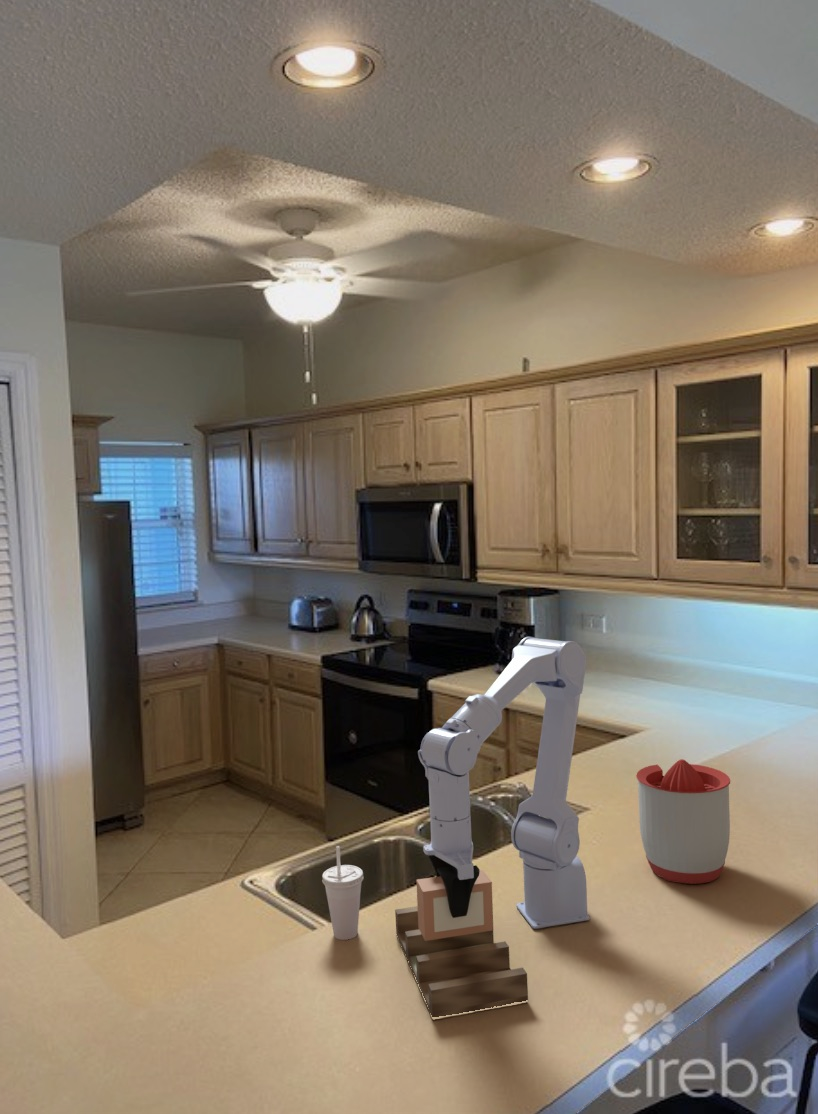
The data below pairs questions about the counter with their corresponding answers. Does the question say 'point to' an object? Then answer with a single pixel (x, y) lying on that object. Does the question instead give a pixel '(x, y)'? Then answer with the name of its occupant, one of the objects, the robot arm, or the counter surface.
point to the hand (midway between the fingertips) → (454, 907)
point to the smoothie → (343, 897)
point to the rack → (460, 969)
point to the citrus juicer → (684, 821)
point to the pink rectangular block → (437, 914)
